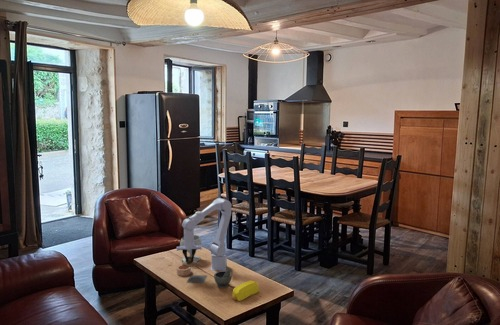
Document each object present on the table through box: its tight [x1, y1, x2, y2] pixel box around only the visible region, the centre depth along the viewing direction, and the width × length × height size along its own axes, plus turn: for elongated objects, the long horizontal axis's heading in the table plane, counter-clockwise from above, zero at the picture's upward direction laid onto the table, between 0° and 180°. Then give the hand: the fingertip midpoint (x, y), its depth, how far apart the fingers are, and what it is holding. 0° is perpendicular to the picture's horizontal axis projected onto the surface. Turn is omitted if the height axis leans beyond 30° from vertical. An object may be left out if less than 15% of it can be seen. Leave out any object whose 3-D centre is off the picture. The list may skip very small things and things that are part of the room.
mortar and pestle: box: [213, 267, 233, 289], centre depth 211 cm, size 11×9×12 cm
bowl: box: [175, 264, 192, 277], centre depth 229 cm, size 8×8×4 cm
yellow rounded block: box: [231, 280, 260, 302], centre depth 201 cm, size 18×7×8 cm
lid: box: [181, 255, 198, 268], centre depth 223 cm, size 9×9×4 cm
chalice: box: [179, 234, 202, 263], centre depth 250 cm, size 14×14×15 cm
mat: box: [186, 274, 208, 284], centre depth 220 cm, size 10×10×1 cm
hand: (189, 261), depth 224 cm, fingers closed on lid, 3 cm apart
